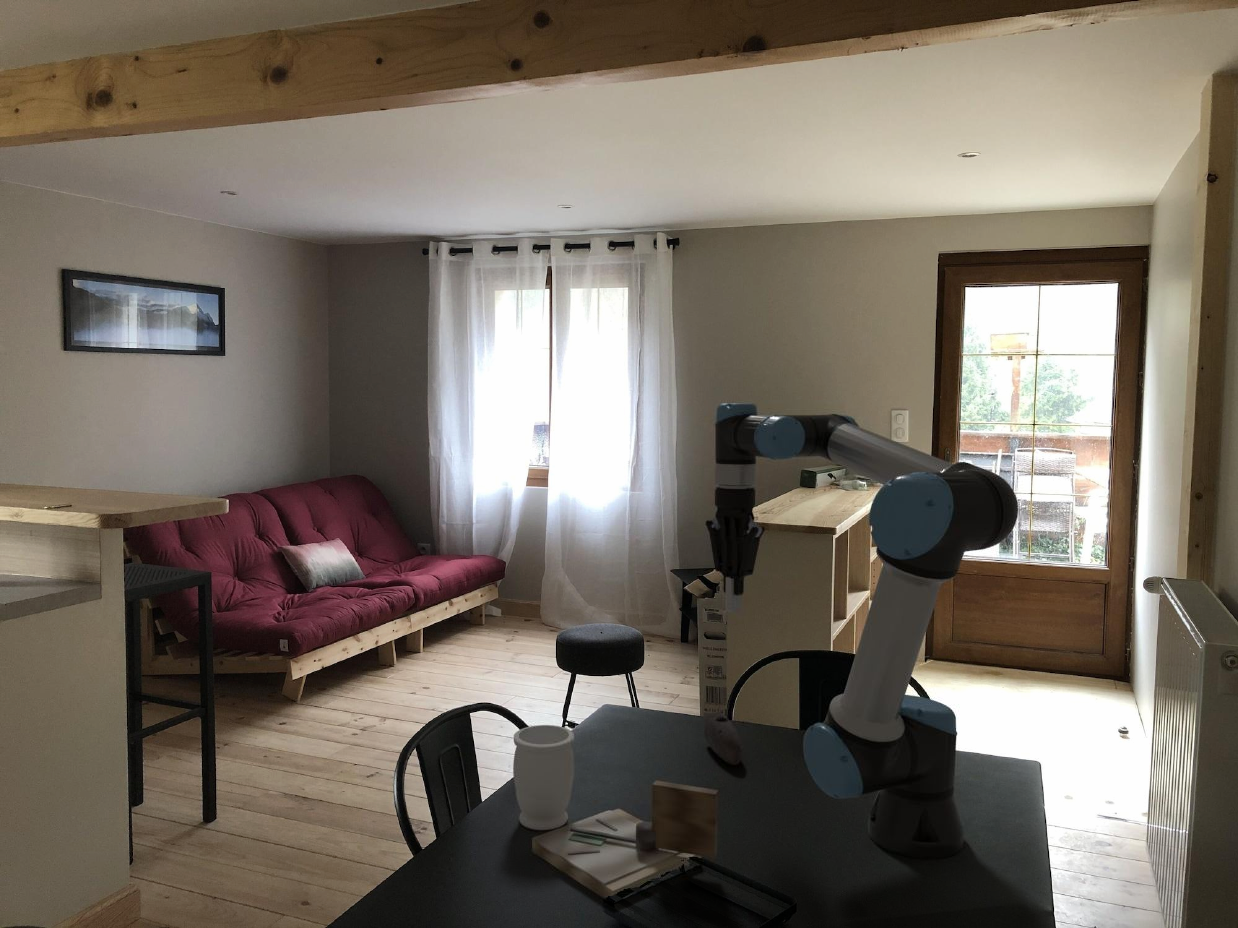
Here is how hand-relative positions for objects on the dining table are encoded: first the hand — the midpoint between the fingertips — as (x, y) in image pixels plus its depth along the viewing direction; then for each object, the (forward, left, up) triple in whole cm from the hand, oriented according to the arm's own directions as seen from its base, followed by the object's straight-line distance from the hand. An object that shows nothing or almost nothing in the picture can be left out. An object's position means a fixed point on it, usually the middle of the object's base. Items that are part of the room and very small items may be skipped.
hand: (733, 610), depth 179 cm
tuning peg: (-13, +34, -30) cm, 47 cm away
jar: (+8, +38, -33) cm, 51 cm away
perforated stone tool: (+8, -7, -33) cm, 34 cm away
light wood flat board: (-10, +37, -32) cm, 50 cm away
